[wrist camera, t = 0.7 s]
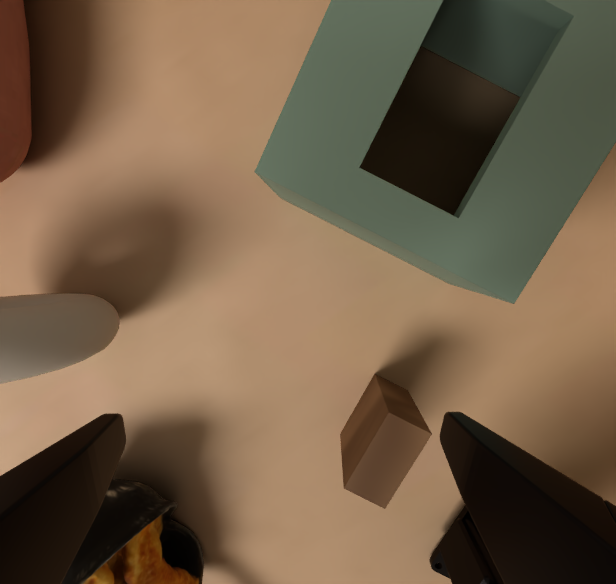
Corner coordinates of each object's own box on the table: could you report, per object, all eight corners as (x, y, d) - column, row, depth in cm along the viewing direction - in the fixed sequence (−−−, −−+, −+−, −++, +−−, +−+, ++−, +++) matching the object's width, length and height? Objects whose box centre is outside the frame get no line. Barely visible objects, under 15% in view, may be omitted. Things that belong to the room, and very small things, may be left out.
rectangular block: (407, 390, 21) (431, 434, 16) (372, 449, 22) (384, 508, 17) (374, 373, 21) (388, 412, 16) (340, 433, 22) (344, 488, 17)
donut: (150, 286, 21) (-5, 322, 11) (155, 336, 22) (10, 411, 12) (11, 289, 22) (-250, 325, 12) (19, 337, 22) (-226, 409, 12)
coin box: (557, 98, 18) (701, 7, 11) (449, 283, 20) (513, 303, 13) (371, 2, 18) (398, -152, 11) (280, 197, 20) (254, 171, 13)
